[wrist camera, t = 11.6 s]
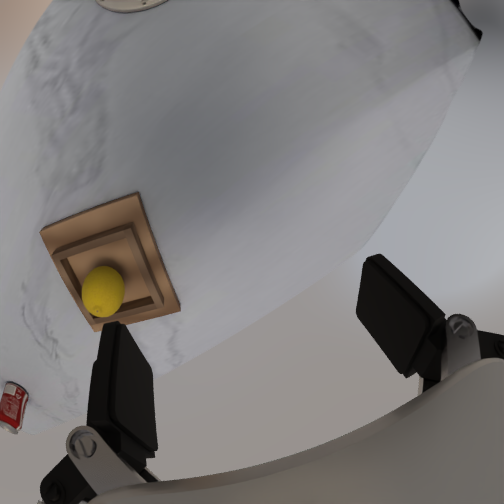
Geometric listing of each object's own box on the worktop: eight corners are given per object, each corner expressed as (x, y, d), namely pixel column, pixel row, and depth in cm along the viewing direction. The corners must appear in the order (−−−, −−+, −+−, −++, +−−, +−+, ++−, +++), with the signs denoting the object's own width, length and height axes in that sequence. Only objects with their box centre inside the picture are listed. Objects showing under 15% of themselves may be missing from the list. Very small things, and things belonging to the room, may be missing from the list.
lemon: (119, 296, 35) (111, 335, 29) (85, 279, 33) (70, 317, 26) (134, 266, 34) (127, 304, 27) (98, 248, 31) (81, 283, 25)
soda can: (3, 377, 38) (-9, 416, 28) (25, 385, 41) (14, 426, 31) (10, 392, 41) (1, 429, 31) (31, 400, 43) (23, 438, 33)
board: (43, 227, 29) (33, 238, 26) (138, 191, 31) (134, 200, 28) (96, 326, 38) (92, 341, 35) (180, 304, 40) (181, 320, 37)
